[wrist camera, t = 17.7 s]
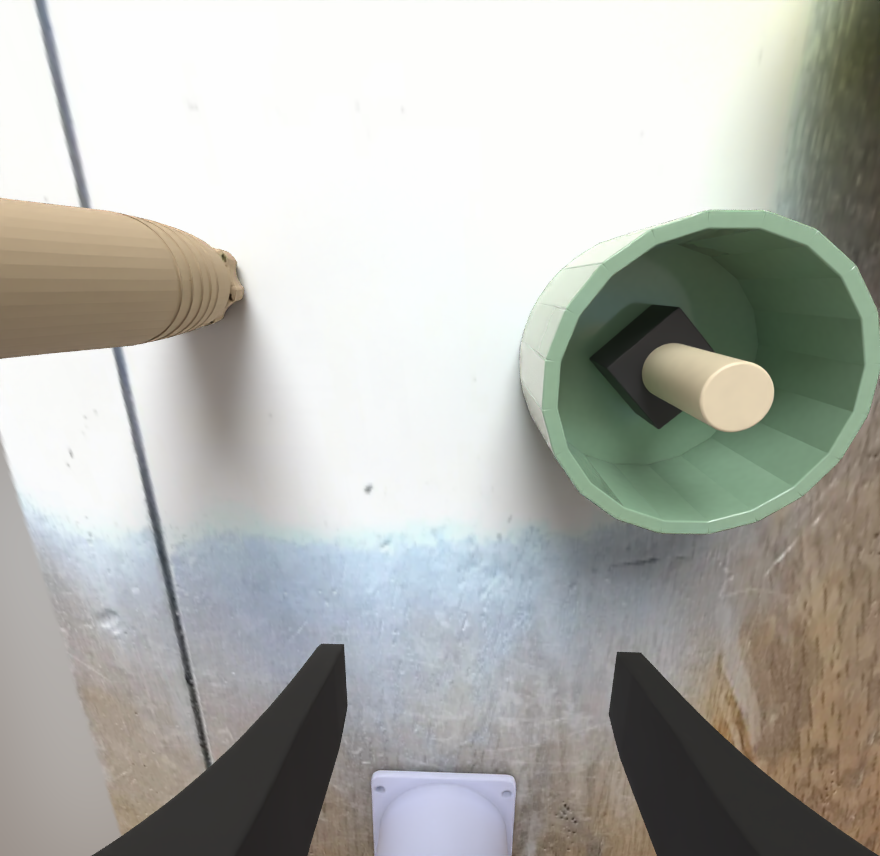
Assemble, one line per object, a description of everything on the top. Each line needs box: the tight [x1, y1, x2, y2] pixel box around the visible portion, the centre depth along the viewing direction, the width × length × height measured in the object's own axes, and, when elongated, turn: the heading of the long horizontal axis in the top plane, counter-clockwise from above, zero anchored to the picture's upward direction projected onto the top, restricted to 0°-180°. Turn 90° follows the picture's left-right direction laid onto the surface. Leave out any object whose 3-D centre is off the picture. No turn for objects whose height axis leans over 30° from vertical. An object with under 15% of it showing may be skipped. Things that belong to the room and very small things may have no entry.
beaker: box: [519, 210, 880, 534], centre depth 18 cm, size 10×10×6 cm
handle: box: [0, 198, 244, 359], centre depth 13 cm, size 5×6×15 cm
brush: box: [589, 304, 774, 432], centre depth 17 cm, size 3×3×7 cm
